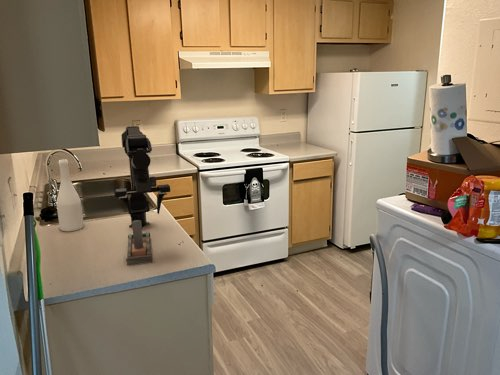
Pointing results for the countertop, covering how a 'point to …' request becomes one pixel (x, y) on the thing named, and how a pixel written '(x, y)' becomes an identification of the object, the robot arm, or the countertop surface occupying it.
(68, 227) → the wine bottle
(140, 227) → the carriage
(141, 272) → the countertop surface
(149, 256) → the guide rail
